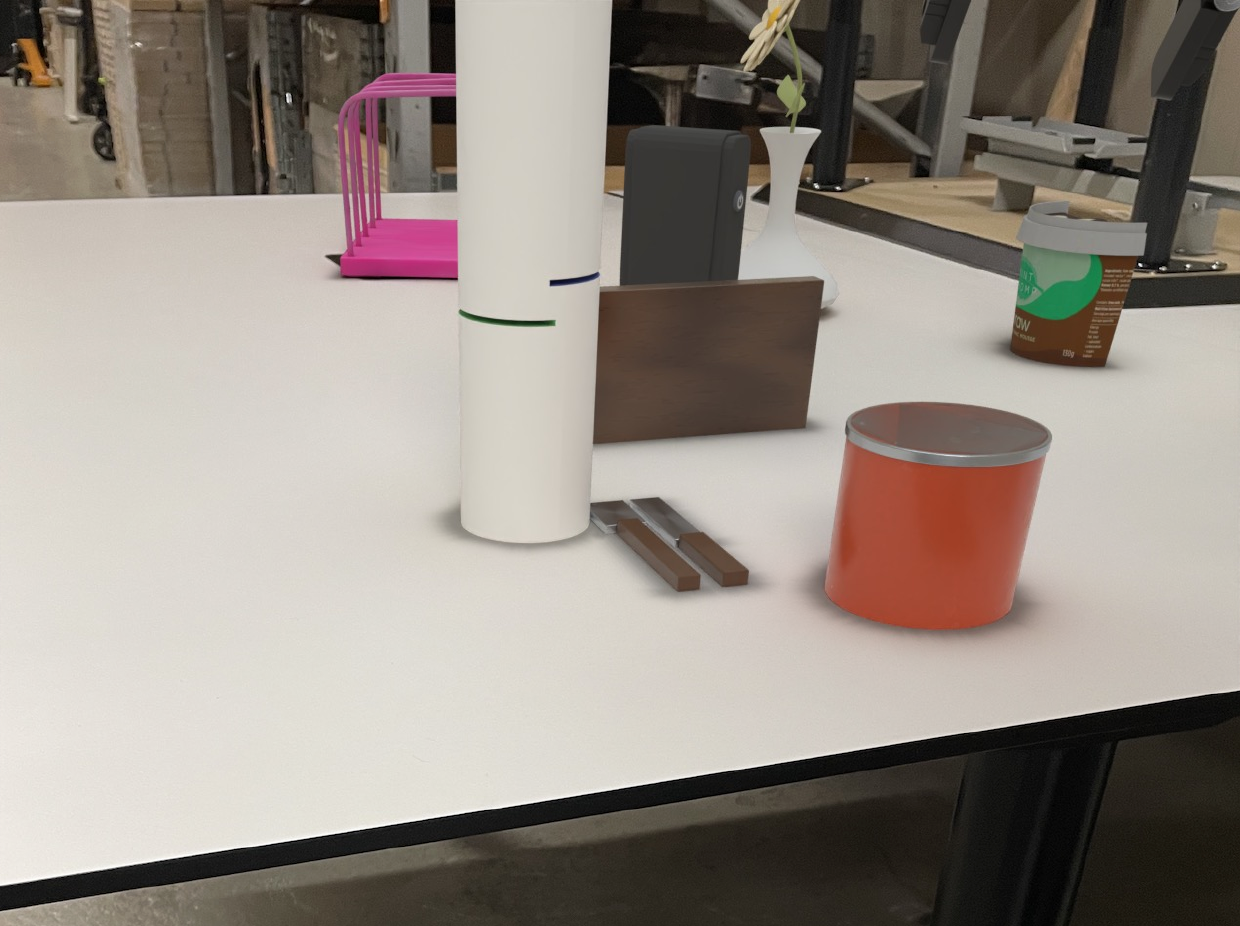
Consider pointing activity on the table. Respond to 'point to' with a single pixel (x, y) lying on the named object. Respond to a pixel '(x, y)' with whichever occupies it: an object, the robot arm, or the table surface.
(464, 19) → the cylindrical container
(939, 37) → the robot arm
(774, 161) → the flower in vase
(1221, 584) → the table surface
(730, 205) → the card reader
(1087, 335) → the food container
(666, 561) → the cutlery
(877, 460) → the tin can
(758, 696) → the table surface
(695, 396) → the wooden board
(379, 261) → the file sorter
